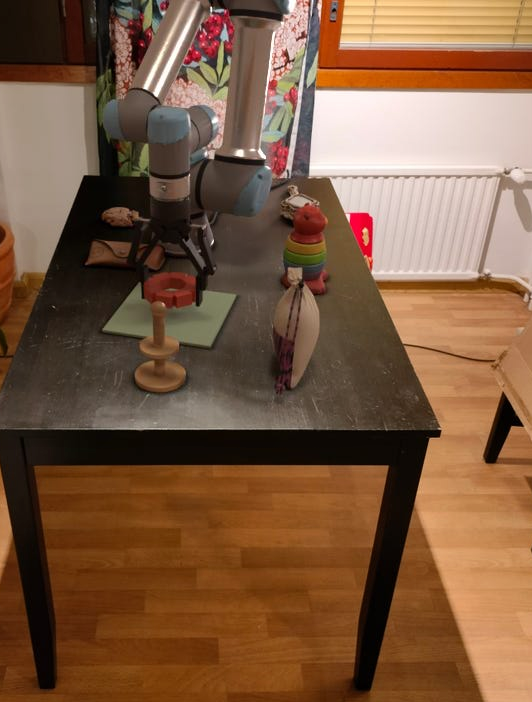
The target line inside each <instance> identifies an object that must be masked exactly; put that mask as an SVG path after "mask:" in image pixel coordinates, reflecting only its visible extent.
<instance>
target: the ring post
mask: <svg viewBox="0 0 532 702" xmlns="http://www.w3.org/2000/svg"><path fill="white" fill-rule="evenodd" d="M150 310H151V313H152V316H153V335H152V336H149V337H146V338H145V339H144V338H142V340H141V341H140V342H139V352H140V353H141V354H142V355H143V356H144V357H146V358H150V359H153V360H149V361H147V362H144V363H142V364H140V365H139V366H138V367H137V368H136V370H135V371H134V382H135V384H136V385H137V386H138V387H139V388H140V389H142V390H145V391H147V392H151V393H167V392H171V391H174V390H177V389H179V388H180V387H182V386H183V385H184V383H185V382H186V379H187V378H186V376H187V375H186V370H185V368H184V366H182V364H179V363H178V362H175V361H173V360H169V358H171V357H173V356H175V355H176V354H177V353H178V352H179V349H180V344H179V343H178V341H177V340H176V339H175V338H173V337H171V336H168V335H165V321H164V314H165V312H166V306H165V304H164V303H162V302H160V301H156V302H154V303H153V304H152V305H151V309H150Z"/></svg>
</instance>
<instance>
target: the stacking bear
mask: <svg viewBox="0 0 532 702" xmlns="http://www.w3.org/2000/svg"><path fill="white" fill-rule="evenodd" d="M292 224H293V225H292V226H293V230H292V231H291V232H290V234H288V236H287V238H286V241H285V245H284V248H283V252H282V262H283V263H282V264H283V268H284V273H283V275H282V278H281V281H282V284H283V285H284V286H285V287H287V288H288V289H289V288H290V287H291V284H290V283H289V282H288V276H287V272H288V268H289V267H291V268H302V280H304V281H305V283H306V286H307V287H308V289H309V290H310V291H311V293H312V294H313V295H320V294H324V293H325V292H326V290H327V287H326V284H325V282H324V281H326V280H328V272H327V270H325V269H324V267H325V264H326V260H327V248H326V240H325V235H324V233H323V231H324V230H325V229H327V226H328V224H329V220H328V218H327V217H326V216H325V215H324V213H322V211H321V209H320V207H319V208H318V207H316V206H312V205H309V202H307V203H306V204H305V205H304V206H302V207H300V208H299V209H297V211H296V212H295V213H294V216H293V220H292Z"/></svg>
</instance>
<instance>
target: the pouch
mask: <svg viewBox="0 0 532 702" xmlns="http://www.w3.org/2000/svg"><path fill="white" fill-rule="evenodd" d="M287 276H288V282H289V283H290V284H291V287H290V288H289V287H288V289H287V290H286V291H285V293H284V294H283V295H282V297H281V298H280V300H279V301H278V303H277V305H276V308H275V310H274V314H273V319H272V339H273V344H274V350H275V353H276V354H275V355H276V359H277V363H278V367H279V372H278V373H279V374H278V381H277V383H276V384H274V390H275V395H276V396H278V395H279V396H282V395H283V392H284V391H286V387H287V388H288V389H294V388H295V387H297V385H298V384H299V382H300V380H301V379H302V377H303V375H304V373H305V371H306V369H307V366H308V365H309V362H310V361H311V358H312V356H313V353H314V350H315V348H316V345H317V341H318V339H319V338H318V337H319V334H320V328H321V327H320V310H319V308H318V304H317V302H316V299H315V296H314V294H312V293H311V291H310V290H309V289H308V287H307V286H306V283H305V281H304V280H302V268H291V267H289V268H288V272H287Z"/></svg>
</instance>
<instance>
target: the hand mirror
mask: <svg viewBox="0 0 532 702" xmlns="http://www.w3.org/2000/svg"><path fill="white" fill-rule="evenodd" d="M298 189H299V187H298V186H297V185H294V184H290V185H288V186H287V187H286V191H287V192H288V193H289V195H290V196H289V197H287V198H286V199H284V200H282V201H281V202H280V208H279V210H278V211H279V214H280V215H281V216H282V217H284V218H285V219H287V220H291V221H293V216H294V213H295V212H296V211H297V209H299V208H300V207H302V206H304V205H305V204H306V203H307V202H309V205H312V206H316V207H318V208H319V209H320V202H319V201H318V200H316V199H315V198H313V197H310V196H307V195H306V194H305V193H304V194H303V193H299V191H298Z"/></svg>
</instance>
